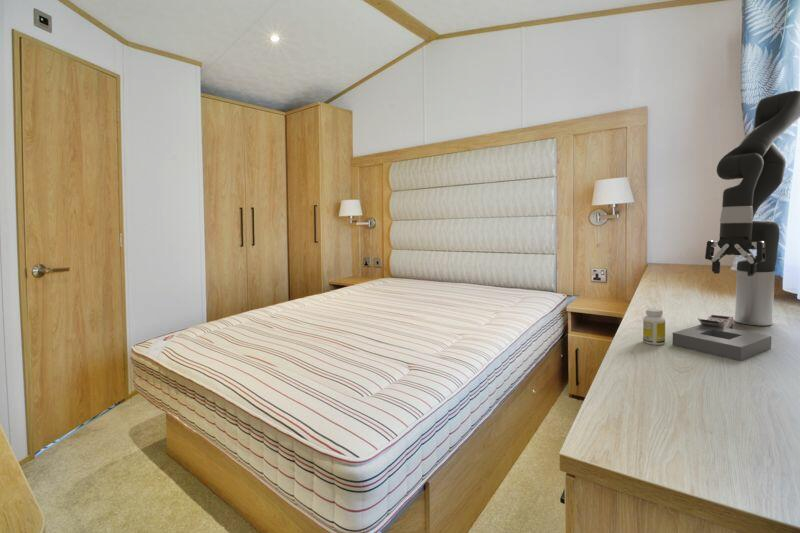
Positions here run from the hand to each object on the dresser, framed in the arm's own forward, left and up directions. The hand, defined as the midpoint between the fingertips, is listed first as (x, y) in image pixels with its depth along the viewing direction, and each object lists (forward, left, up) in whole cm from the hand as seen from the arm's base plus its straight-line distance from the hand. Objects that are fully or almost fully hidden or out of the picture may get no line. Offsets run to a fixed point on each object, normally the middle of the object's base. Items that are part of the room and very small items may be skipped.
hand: (732, 274), depth 121 cm
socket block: (+20, +6, -17) cm, 27 cm away
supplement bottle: (+30, -6, -18) cm, 35 cm away
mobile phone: (+4, -2, -18) cm, 18 cm away
